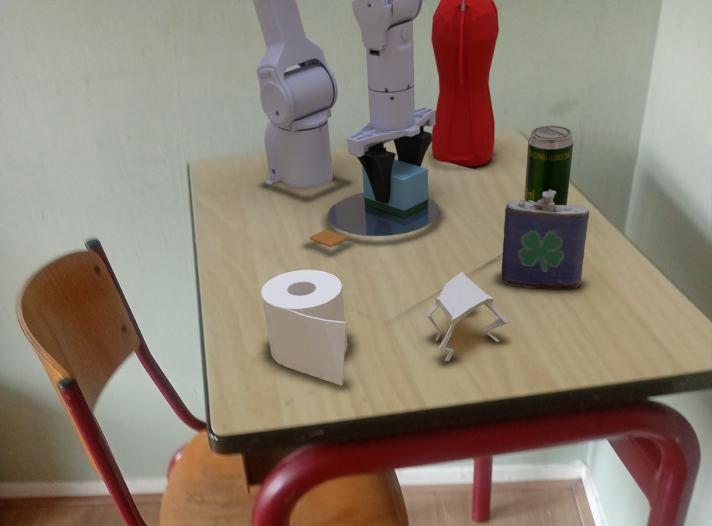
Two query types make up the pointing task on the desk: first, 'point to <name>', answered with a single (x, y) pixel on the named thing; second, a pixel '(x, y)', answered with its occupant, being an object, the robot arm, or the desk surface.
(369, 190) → the sponge
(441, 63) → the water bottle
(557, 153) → the beer can
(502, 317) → the origami figure
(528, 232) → the flask
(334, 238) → the orange cardboard box
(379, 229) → the plate
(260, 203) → the desk surface
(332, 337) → the toilet paper
